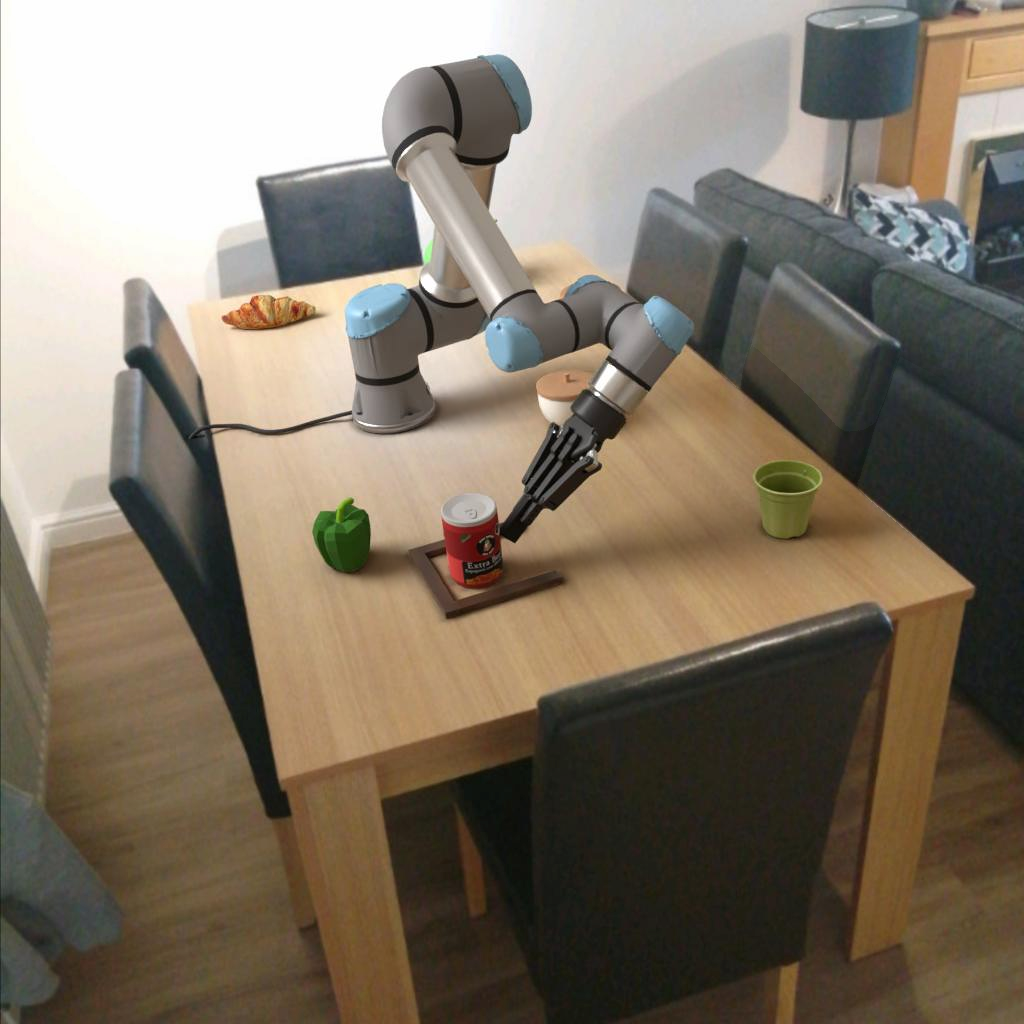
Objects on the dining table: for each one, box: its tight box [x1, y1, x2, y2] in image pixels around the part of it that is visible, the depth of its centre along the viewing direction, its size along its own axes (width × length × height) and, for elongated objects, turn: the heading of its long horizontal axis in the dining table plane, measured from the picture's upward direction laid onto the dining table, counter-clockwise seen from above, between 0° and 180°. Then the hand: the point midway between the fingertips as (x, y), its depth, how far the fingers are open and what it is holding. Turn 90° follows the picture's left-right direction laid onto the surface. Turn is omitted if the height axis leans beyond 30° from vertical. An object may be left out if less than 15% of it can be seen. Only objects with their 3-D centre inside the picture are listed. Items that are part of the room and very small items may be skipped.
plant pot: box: [752, 459, 824, 540], centre depth 147 cm, size 9×9×9 cm
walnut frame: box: [407, 521, 563, 619], centre depth 147 cm, size 17×17×1 cm
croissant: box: [221, 294, 317, 330], centre depth 237 cm, size 21×10×8 cm, turn 101°
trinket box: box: [535, 369, 594, 425], centre depth 181 cm, size 11×11×9 cm
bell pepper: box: [311, 496, 372, 573], centre depth 149 cm, size 8×8×10 cm
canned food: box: [440, 492, 504, 589], centre depth 144 cm, size 8×8×11 cm
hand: (506, 537), depth 146 cm, fingers closed
